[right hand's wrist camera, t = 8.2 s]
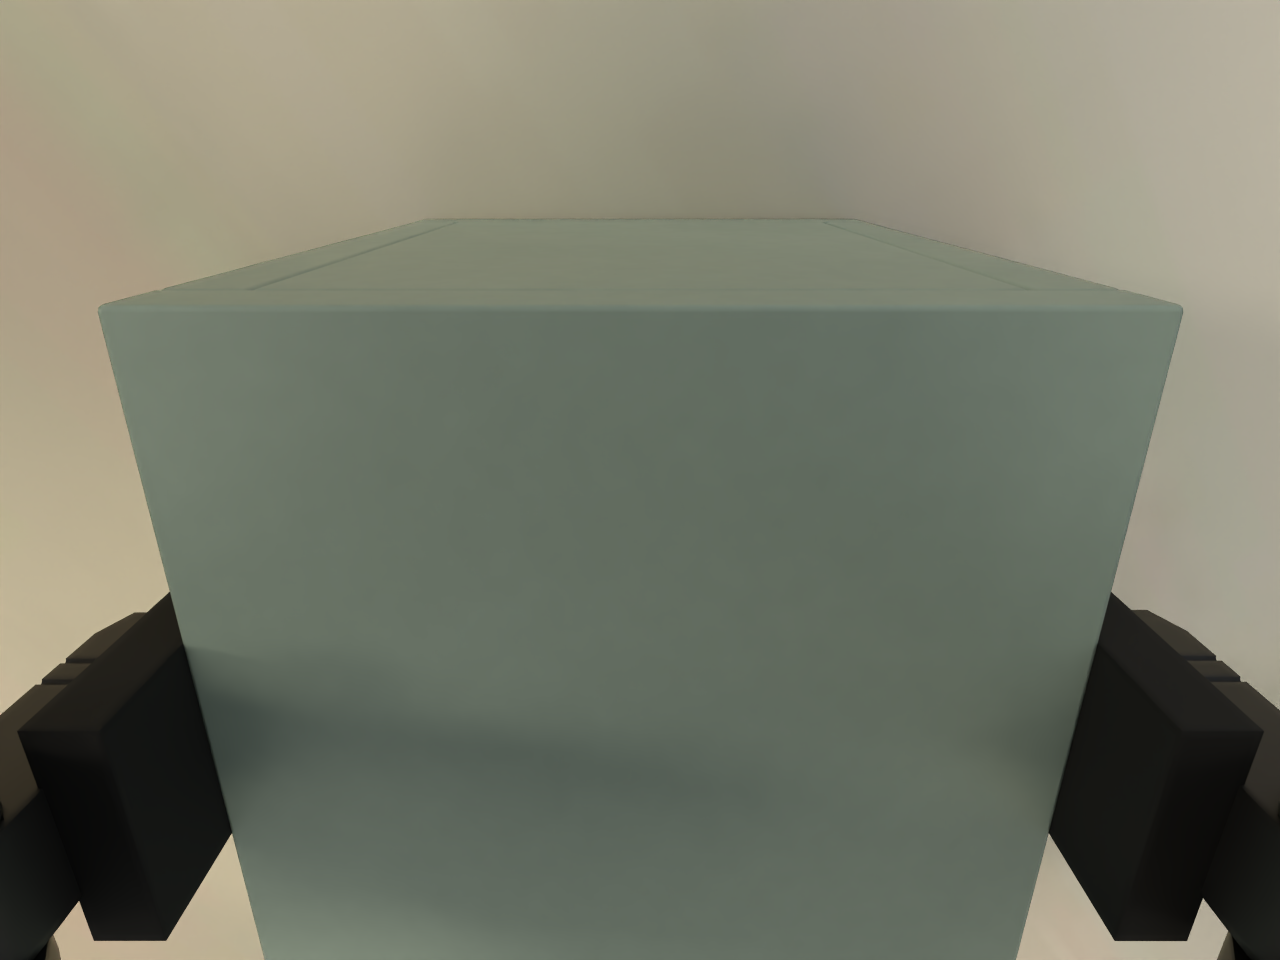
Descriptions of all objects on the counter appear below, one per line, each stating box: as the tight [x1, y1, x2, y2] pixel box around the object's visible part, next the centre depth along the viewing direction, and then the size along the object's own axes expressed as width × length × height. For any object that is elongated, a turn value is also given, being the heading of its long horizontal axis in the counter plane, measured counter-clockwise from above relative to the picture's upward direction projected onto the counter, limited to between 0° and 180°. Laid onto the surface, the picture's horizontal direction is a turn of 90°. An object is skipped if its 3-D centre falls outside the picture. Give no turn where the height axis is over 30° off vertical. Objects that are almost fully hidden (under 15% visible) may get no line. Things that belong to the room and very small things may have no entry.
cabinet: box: [98, 219, 1183, 960], centre depth 16 cm, size 20×10×12 cm, turn 0°
